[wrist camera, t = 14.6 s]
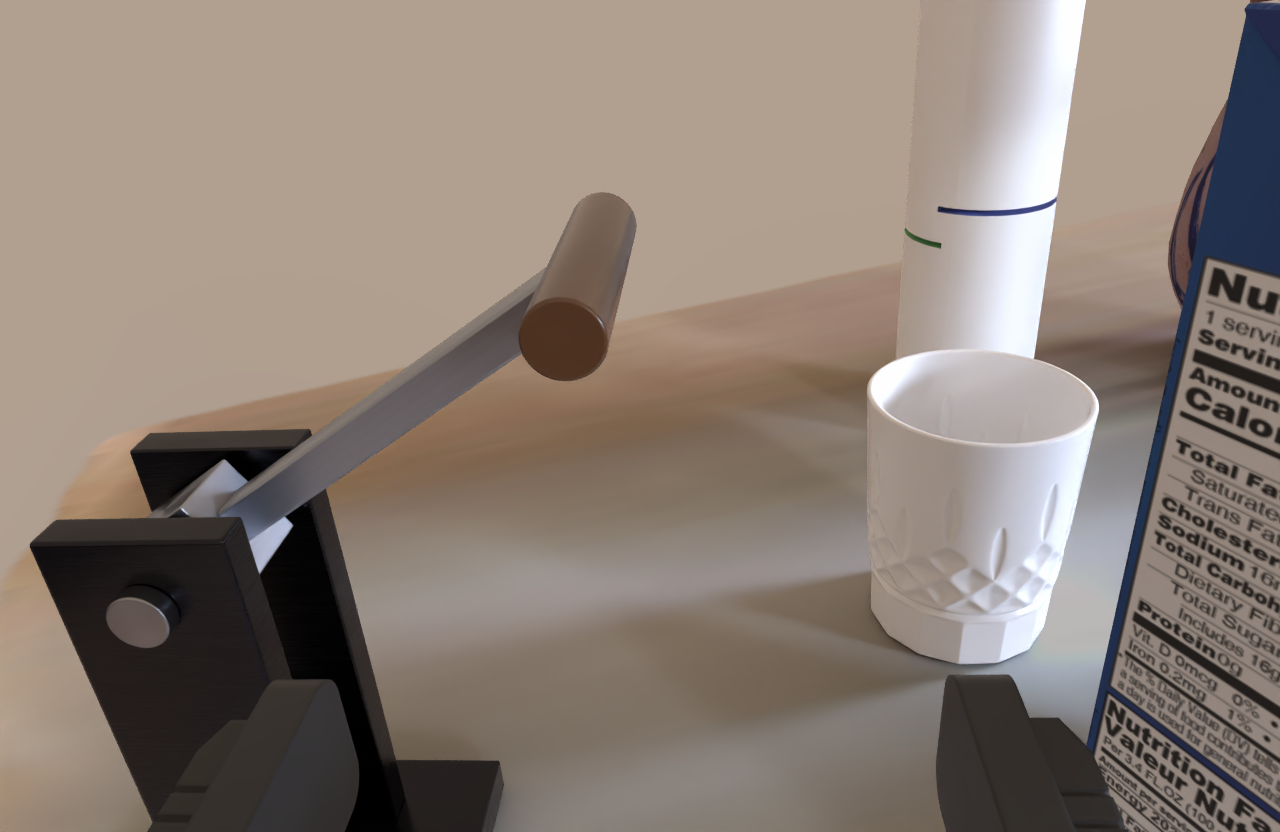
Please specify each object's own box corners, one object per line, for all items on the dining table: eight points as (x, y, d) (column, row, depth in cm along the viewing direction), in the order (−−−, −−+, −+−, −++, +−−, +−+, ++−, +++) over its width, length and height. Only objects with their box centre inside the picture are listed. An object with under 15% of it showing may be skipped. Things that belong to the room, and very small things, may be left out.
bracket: (504, 784, 32) (432, 398, 25) (446, 1028, 25) (324, 584, 18) (224, 782, 33) (82, 408, 26) (92, 1017, 26) (-152, 589, 19)
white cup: (1072, 690, 34) (1119, 453, 30) (851, 664, 36) (863, 438, 31) (1044, 562, 41) (1079, 352, 36) (859, 545, 43) (870, 344, 38)
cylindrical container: (1000, 458, 49) (1073, -86, 37) (871, 426, 53) (900, -76, 41) (1040, 404, 54) (1116, -91, 42) (920, 378, 58) (958, -82, 46)
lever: (660, 246, 22) (598, 163, 21) (641, 370, 16) (553, 261, 15) (261, 522, 27) (198, 463, 26) (126, 702, 21) (38, 631, 20)
